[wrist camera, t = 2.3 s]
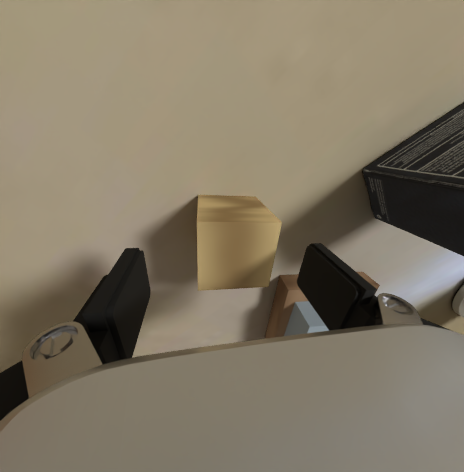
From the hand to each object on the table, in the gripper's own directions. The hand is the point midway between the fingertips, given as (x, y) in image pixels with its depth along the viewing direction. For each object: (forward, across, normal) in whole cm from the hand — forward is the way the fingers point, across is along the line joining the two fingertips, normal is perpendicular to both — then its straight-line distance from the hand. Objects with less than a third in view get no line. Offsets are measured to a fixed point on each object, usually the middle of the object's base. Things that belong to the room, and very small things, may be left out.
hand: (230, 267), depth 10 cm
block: (+7, -1, 0) cm, 7 cm away
